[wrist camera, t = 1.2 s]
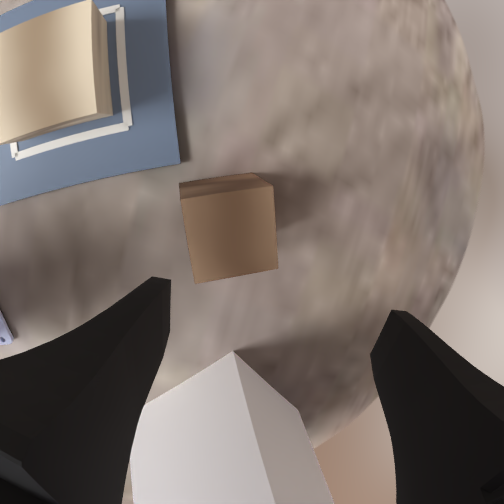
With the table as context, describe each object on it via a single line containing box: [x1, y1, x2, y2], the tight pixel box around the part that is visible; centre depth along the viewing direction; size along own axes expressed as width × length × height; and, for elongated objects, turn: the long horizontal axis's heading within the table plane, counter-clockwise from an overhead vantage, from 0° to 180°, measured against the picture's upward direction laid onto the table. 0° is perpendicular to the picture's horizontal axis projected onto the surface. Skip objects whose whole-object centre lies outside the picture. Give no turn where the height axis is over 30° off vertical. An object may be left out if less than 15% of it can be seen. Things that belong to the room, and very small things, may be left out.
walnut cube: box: [179, 173, 278, 284], centre depth 18 cm, size 4×4×4 cm
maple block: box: [0, 0, 113, 145], centre depth 12 cm, size 6×6×4 cm
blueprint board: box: [0, 0, 180, 206], centre depth 14 cm, size 13×13×1 cm
